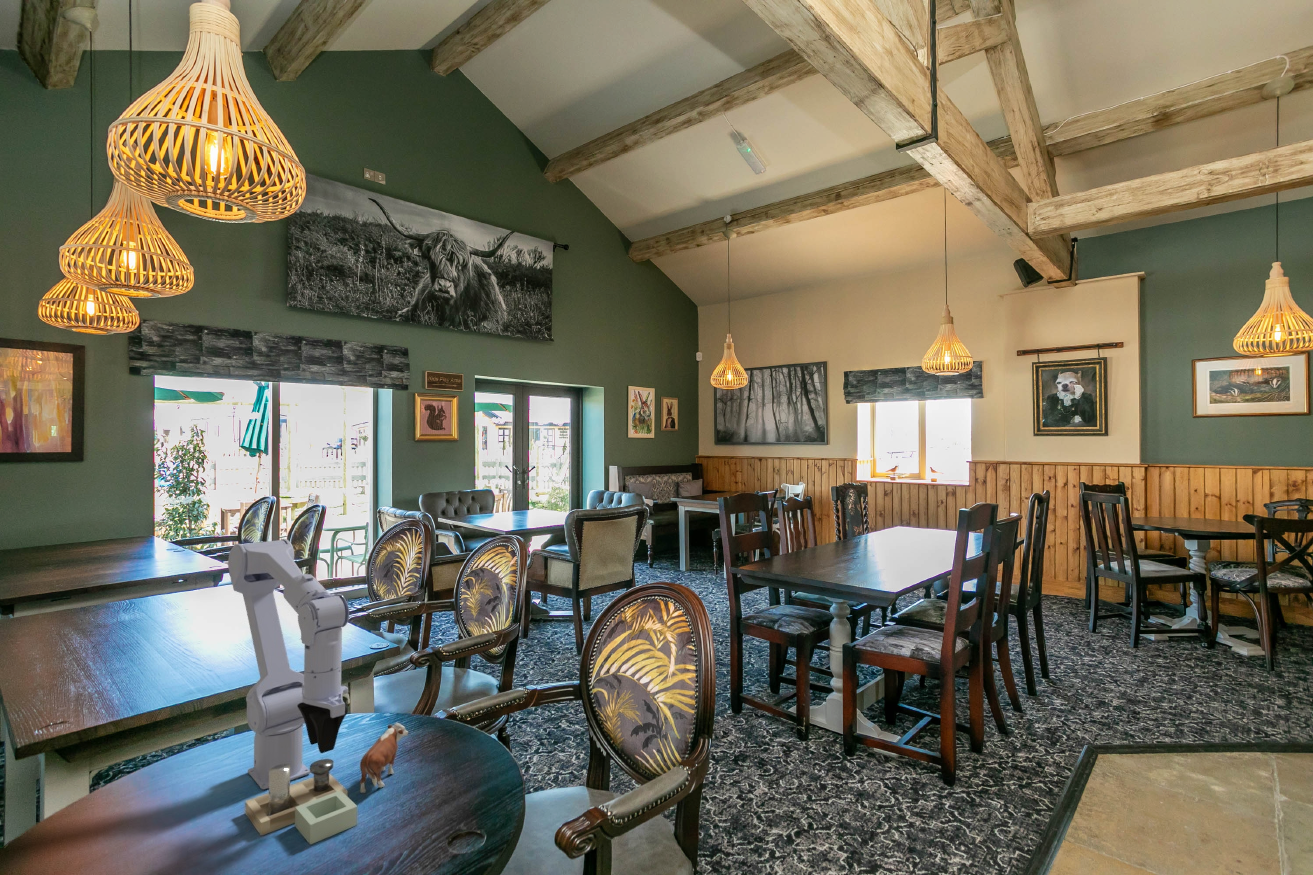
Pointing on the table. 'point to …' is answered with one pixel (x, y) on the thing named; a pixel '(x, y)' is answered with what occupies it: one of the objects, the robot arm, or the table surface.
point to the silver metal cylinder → (279, 789)
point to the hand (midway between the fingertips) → (321, 746)
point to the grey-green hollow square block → (325, 816)
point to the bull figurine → (381, 755)
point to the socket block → (298, 796)
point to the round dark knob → (321, 774)
